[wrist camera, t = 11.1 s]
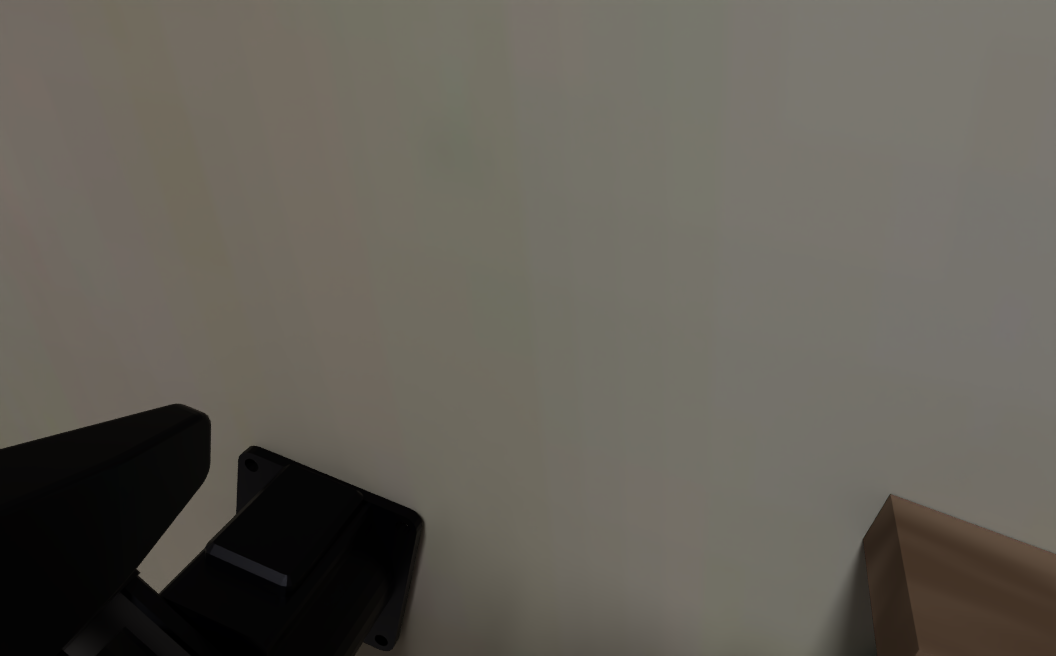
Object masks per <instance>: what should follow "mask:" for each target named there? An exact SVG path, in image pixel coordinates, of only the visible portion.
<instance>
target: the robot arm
mask: <svg viewBox="0 0 1056 656" xmlns="http://www.w3.org/2000/svg"><path fill="white" fill-rule="evenodd" d="M210 454H211V421H210V419H209V417H208V415H206V414H205V413H203V412H201V411H198V410H196V409H193V408H191V407H188V406H186V405H183V404H172V405H168V406H164V407H160V408H156V409H152V410H148V411H145V412H141V413H137V414H133V415H129V416H125V417H122V418H118V419H114V420H110V421H106V422H102V423H99V424H95V425H91V426H87V427H83V428H79V429H76V430H72V431H68V432H64V433H60V434H56V435H53V436H49V437H45V438H41V439H37V440H33V441H30V442H26V443H22V444H18V445H14V446H10V447H7V448H3V449H0V656H354V655H355V654H356V652H357V651H358V649H359V647H360V646H361V644H362V643H363V642H364V643H366V644H368V645H371V646H373V647H375V648H377V649H379V650H383V651H390V650H392V649H393V647H394V646H395V644H396V642H397V640H398V639H399V636H400V631H401V626H402V621H403V616H404V611H405V606H406V601H407V597H408V592H409V587H410V582H411V577H412V572H413V567H414V562H415V558H416V553H417V548H418V543H419V538H420V533H421V528H422V521H421V518H420V516H419V515H418V514H417V513H416V512H415V511H413V510H411V509H410V508H407V507H405V506H402V505H400V504H397V503H395V502H392V501H390V500H388V499H385V498H383V497H380V496H378V495H375V494H373V493H371V492H368V491H366V490H363V489H361V488H358V487H356V486H354V485H351V484H349V483H346V482H344V481H341V480H339V479H337V478H334V477H332V476H329V475H327V474H324V473H322V472H319V471H317V470H315V469H312V468H310V467H307V466H305V465H302V464H300V463H298V462H295V461H293V460H290V459H288V458H285V457H283V456H281V455H278V454H276V453H273V452H271V451H268V450H266V449H264V448H261V447H258V446H250V447H249V448H248V449H247V450H245V451H244V452H243V453H242V454H241V455H240V456H239V459H238V481H237V507H236V515H235V516H234V517H233V518H232V519H231V520H230V521H229V522H228V523H227V524H226V525H225V526H224V527H223V528H222V529H221V530H220V531H219V532H218V533H217V534H216V535H215V536H214V537H213V538H212V539H211V540H210V541H209V542H208V543H207V545H206V547H205V548H204V549H203V550H202V551H201V552H200V553H199V554H198V555H197V556H196V557H195V558H194V559H193V560H192V561H191V562H190V563H189V564H188V565H187V566H186V567H185V568H184V569H183V570H182V571H181V572H180V573H179V574H178V575H177V576H176V577H175V578H174V579H173V580H172V581H171V582H170V583H169V584H168V585H167V586H166V587H165V588H164V589H163V590H162V591H161V592H160V593H159V594H158V593H157V592H156V591H155V590H154V589H152V588H151V587H150V586H149V585H148V584H147V583H146V582H145V581H144V580H143V579H141V578H140V577H139V576H138V575H139V574H140V572H139V571H138V570H137V569H136V568H137V567H138V566H139V565H140V563H141V562H142V561H143V560H144V558H145V557H146V556H147V554H148V553H149V552H150V551H151V549H152V548H153V547H154V545H155V544H156V543H157V542H158V540H159V539H160V538H161V536H162V535H163V534H164V533H165V531H166V530H167V529H168V528H169V526H170V525H171V524H172V522H173V521H174V520H175V519H176V517H177V516H178V515H179V513H180V512H181V511H182V510H183V508H184V507H185V506H186V504H187V503H188V502H189V501H190V499H191V498H192V497H193V495H194V494H195V493H196V492H197V490H198V489H199V488H200V486H201V485H202V484H203V482H204V481H205V479H206V477H207V474H208V472H209V468H210ZM402 522H404V523H405V524H407V525H408V526H406V525H405V524H403V523H402Z"/></svg>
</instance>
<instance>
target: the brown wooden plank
mask: <svg viewBox="0 0 1056 656" xmlns="http://www.w3.org/2000/svg"><path fill="white" fill-rule="evenodd" d="M863 543H864V551H865V559H866V567H867V576H868V584H869V592H870V600H871V608H872V617H873V625H874V633H875V641H876V649H877V656H1056V554H1053V553H1051V552H1048V551H1045V550H1042V549H1040V548H1037V547H1034V546H1031V545H1029V544H1026V543H1023V542H1020V541H1018V540H1015V539H1012V538H1009V537H1007V536H1004V535H1001V534H998V533H996V532H993V531H990V530H987V529H985V528H982V527H979V526H977V525H974V524H971V523H968V522H966V521H963V520H960V519H957V518H955V517H952V516H949V515H946V514H944V513H941V512H938V511H935V510H933V509H930V508H927V507H924V506H922V505H919V504H916V503H913V502H911V501H908V500H905V499H903V498H900V497H897V496H894V495H892V494H890V496H889V498H888V499H887V501H886V503H885V504H884V506H883V507H882V509H881V511H880V512H879V514H878V516H877V517H876V519H875V521H874V522H873V524H872V526H871V527H870V529H869V531H868V532H867V534H866V535H865V537H864V539H863Z"/></svg>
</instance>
